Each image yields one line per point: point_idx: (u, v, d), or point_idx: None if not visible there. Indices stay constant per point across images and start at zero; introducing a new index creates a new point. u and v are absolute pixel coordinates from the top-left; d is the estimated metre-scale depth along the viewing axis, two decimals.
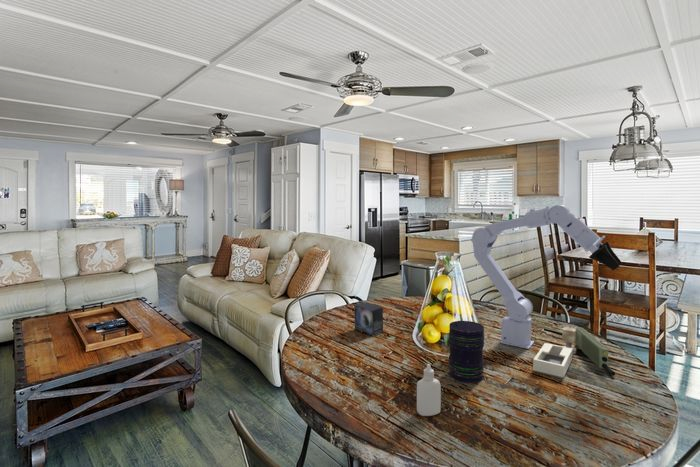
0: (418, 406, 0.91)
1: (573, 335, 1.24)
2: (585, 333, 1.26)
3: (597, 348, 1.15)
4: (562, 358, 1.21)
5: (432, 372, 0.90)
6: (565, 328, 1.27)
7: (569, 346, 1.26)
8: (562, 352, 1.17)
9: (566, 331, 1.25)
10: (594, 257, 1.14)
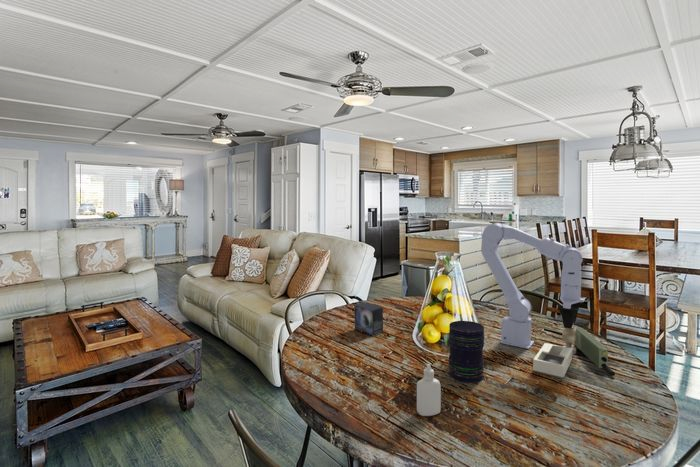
0: (418, 406, 0.91)
1: (573, 335, 1.24)
2: (584, 333, 1.26)
3: (597, 348, 1.15)
4: (562, 358, 1.21)
5: (432, 372, 0.90)
6: (565, 328, 1.27)
7: (569, 346, 1.26)
8: (562, 352, 1.17)
9: (566, 331, 1.25)
10: (561, 310, 1.22)
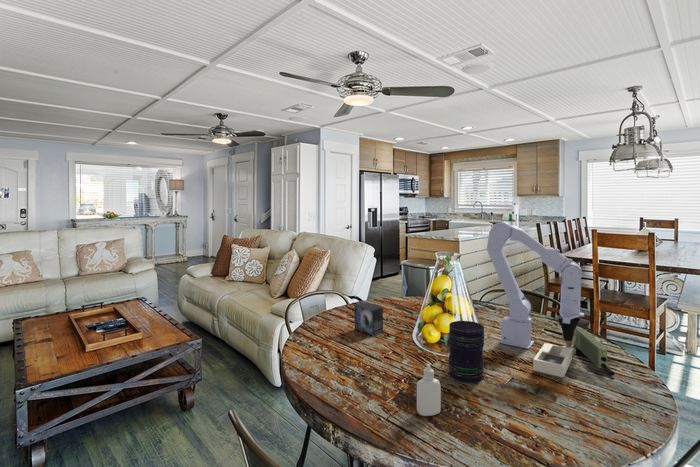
0: (418, 406, 0.91)
1: (573, 335, 1.24)
2: (584, 333, 1.26)
3: (596, 348, 1.15)
4: (562, 358, 1.21)
5: (432, 372, 0.90)
6: None
7: (569, 346, 1.26)
8: (562, 352, 1.17)
9: None
10: (561, 323, 1.24)
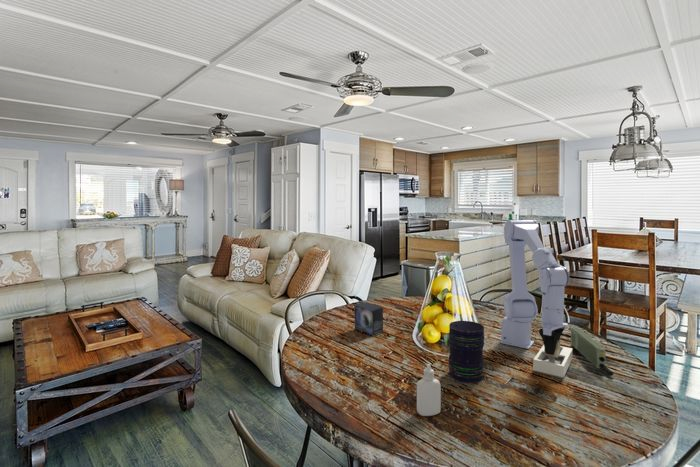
0: (418, 406, 0.91)
1: (556, 348, 1.11)
2: (581, 333, 1.26)
3: (595, 348, 1.15)
4: (562, 358, 1.21)
5: (432, 372, 0.90)
6: None
7: (552, 360, 1.12)
8: (562, 352, 1.17)
9: None
10: (542, 334, 1.10)
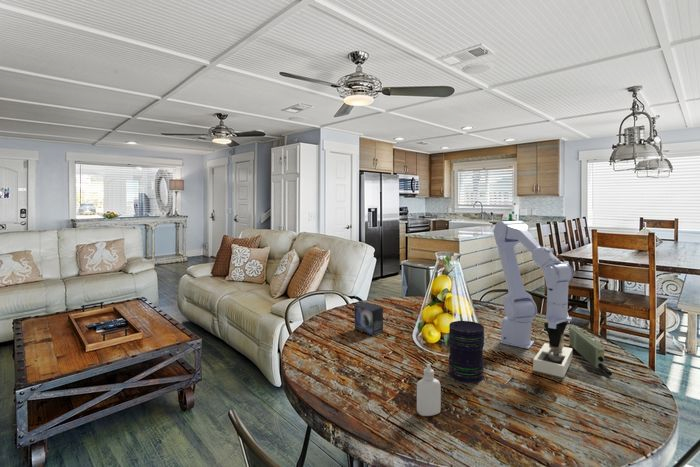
0: (418, 406, 0.91)
1: (561, 341, 1.16)
2: (580, 333, 1.26)
3: (593, 348, 1.15)
4: None
5: (432, 372, 0.90)
6: None
7: (556, 353, 1.18)
8: (562, 352, 1.17)
9: None
10: (547, 328, 1.16)
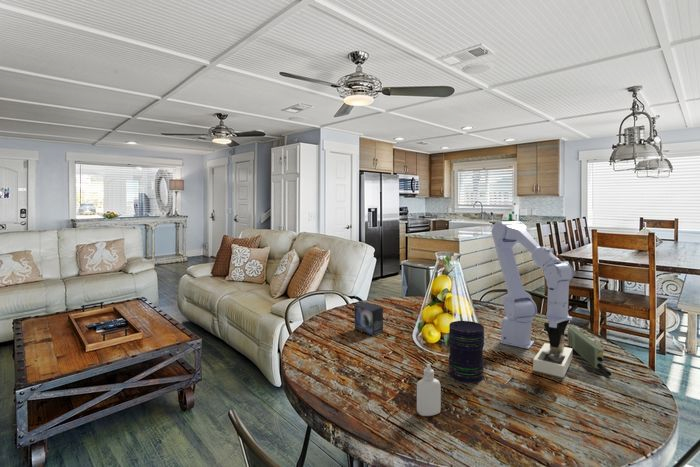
0: (418, 406, 0.91)
1: (561, 342, 1.17)
2: (578, 333, 1.26)
3: (592, 348, 1.15)
4: None
5: (432, 372, 0.90)
6: None
7: (557, 354, 1.19)
8: (562, 352, 1.17)
9: None
10: (547, 328, 1.16)
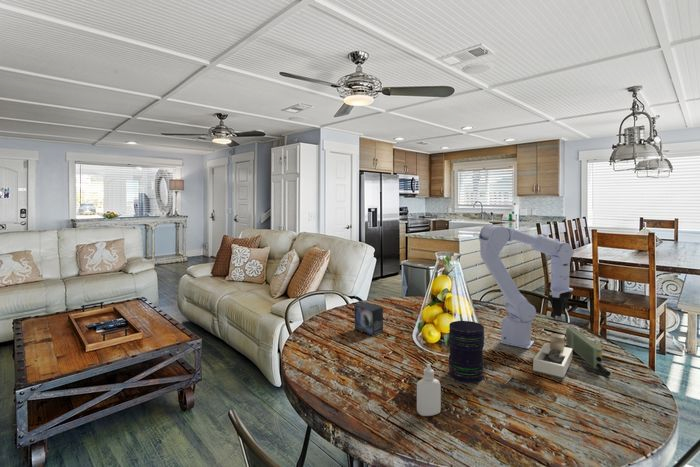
0: (418, 406, 0.91)
1: (562, 342, 1.17)
2: (577, 333, 1.26)
3: (591, 348, 1.15)
4: None
5: (432, 372, 0.90)
6: (553, 334, 1.20)
7: (557, 354, 1.19)
8: (562, 352, 1.17)
9: (554, 338, 1.18)
10: (551, 299, 1.31)
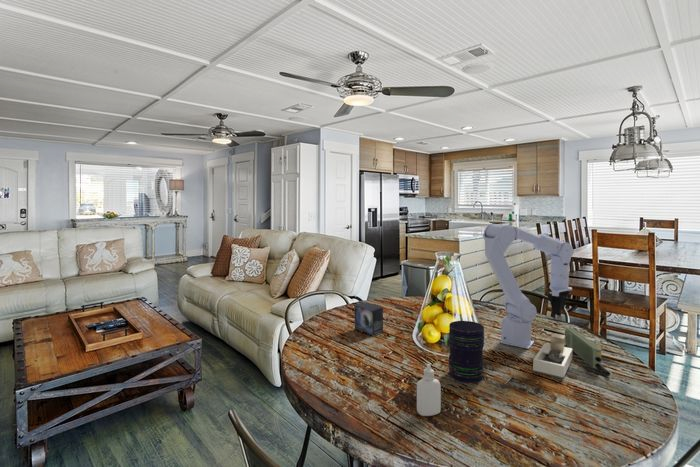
0: (418, 406, 0.91)
1: (562, 342, 1.17)
2: (576, 333, 1.26)
3: (591, 348, 1.15)
4: None
5: (432, 372, 0.90)
6: (554, 335, 1.19)
7: (557, 354, 1.19)
8: (562, 352, 1.17)
9: (555, 338, 1.18)
10: (550, 298, 1.33)
